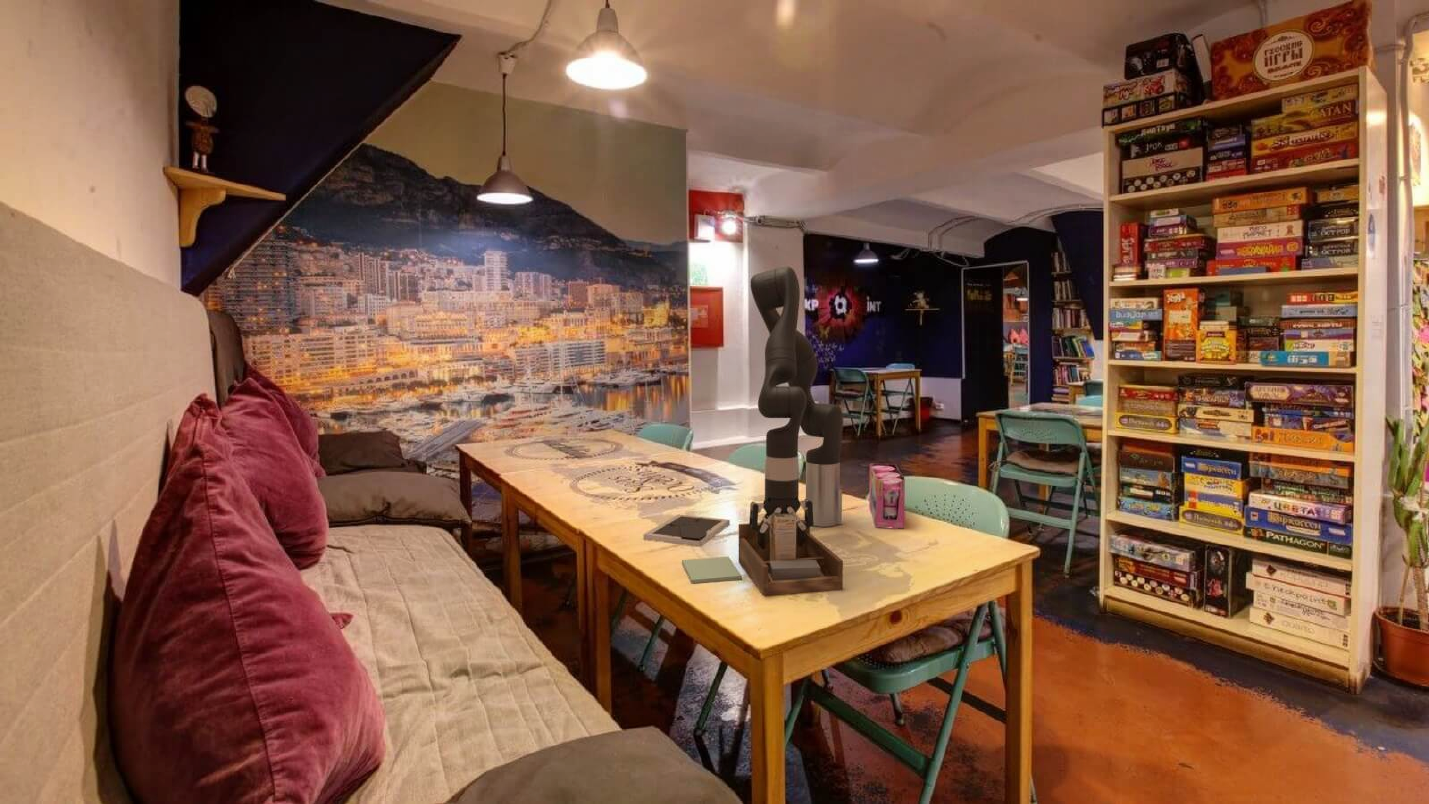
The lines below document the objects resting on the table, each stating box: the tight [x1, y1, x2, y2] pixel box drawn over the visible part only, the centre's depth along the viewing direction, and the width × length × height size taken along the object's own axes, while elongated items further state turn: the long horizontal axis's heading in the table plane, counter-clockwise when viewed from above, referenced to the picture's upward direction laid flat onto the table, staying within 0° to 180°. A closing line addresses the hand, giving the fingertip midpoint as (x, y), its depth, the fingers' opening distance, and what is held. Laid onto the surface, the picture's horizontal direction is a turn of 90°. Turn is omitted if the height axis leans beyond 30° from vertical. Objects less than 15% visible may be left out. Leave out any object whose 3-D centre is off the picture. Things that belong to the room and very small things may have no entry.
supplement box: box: [770, 513, 796, 561], centre depth 154 cm, size 8×5×13 cm, turn 5°
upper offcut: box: [769, 560, 820, 580], centre depth 145 cm, size 10×5×2 cm, turn 93°
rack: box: [738, 519, 844, 597], centre depth 151 cm, size 17×21×9 cm
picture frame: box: [643, 513, 731, 547], centre depth 184 cm, size 16×3×21 cm
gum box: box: [868, 463, 906, 529], centre depth 195 cm, size 24×8×14 cm, turn 172°
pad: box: [681, 556, 743, 584], centre depth 154 cm, size 11×13×1 cm
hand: (781, 546), depth 155 cm, fingers open, 8 cm apart
